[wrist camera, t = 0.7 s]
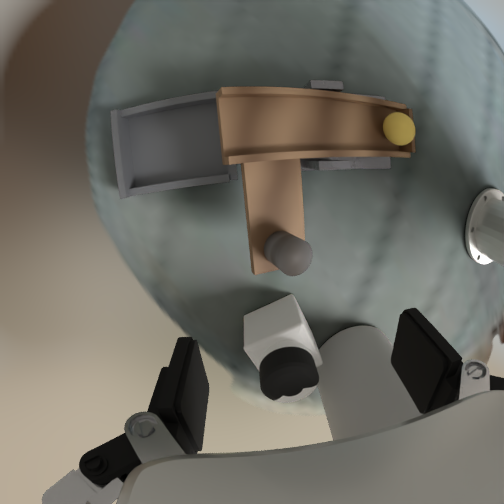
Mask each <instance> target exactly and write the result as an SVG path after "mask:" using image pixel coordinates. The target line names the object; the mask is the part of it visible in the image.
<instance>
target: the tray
mask: <svg viewBox="0 0 504 504" xmlns="http://www.w3.org/2000/svg"><path fill="white" fill-rule="evenodd" d="M218 91H219V90H218ZM218 91H210V92H203V93H197V94H191V95H185V96H180V97H174V98H169V99H164V100H160V101H155V102H151V103H147V104H142V105H138V106H135V107H131V108H127V109H123V110H118V109H115V110H112V111H110V114H111V128H112V140H113V150H114V159H115V167H116V175H117V182H118V189H119V195H120V199H122V198H127V197H130V196H135V195H141V194H146V193H152V192H158V191H165V190H171V189H178V188H185V187H192V186H200V185H207V184H216V183H224V182H230V180H238V175H237V165H236V164H231V165H223V163H222V153H221V144H220V134H219V124H218V113H217V103H216V93H217V92H218Z"/></svg>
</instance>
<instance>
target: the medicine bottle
mask: <svg viewBox="0 0 504 504" xmlns="http://www.w3.org/2000/svg"><path fill="white" fill-rule="evenodd" d="M243 348H244V351H245V352H246V353H247V355H248V356H249V358H250V359H251V360H252V362H253V363H254V365H255V366H256V367H257V369H258V370H259V373H260V387H261V390H262V392H263V394H264V395H265V396H267V397H268V398H270V399H272V400H274V401H277V402H295V401H298V400H301V399H303V398H305V397H307V396H308V395H310V394H311V393H312V392H313V391H314V389H315V388H316V387H317V385H318V383H319V374H318V371H317V368H316V367H318V366H320V365H322V364H323V361H322V358H321V355H320V353H319V350H318V347H317V344H316V342H315V339H314V336H313V333H312V331H311V329H310V327H309V325H308V323H307V321H306V319H305V317H304V315H303V313H302V311H301V309H300V307H299V305H298V303H297V301H296V299H295V297H294V295H293V294H290V295H288V296H286V297H284V298H281V299H279V300H277V301H275V302H273V303H271V304H268V305H266V306H264V307H262V308H260V309H257V310H255V311H253V312H251V313H248V314H246V315H244V317H243Z"/></svg>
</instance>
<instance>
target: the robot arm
mask: <svg viewBox="0 0 504 504" xmlns="http://www.w3.org/2000/svg"><path fill="white" fill-rule="evenodd" d="M465 240H466V247H467V251H468V253H469V255H470V257H471V258H472V259H473V260H474V261H476V262H477V263H479V264H488V263H490V262H492V261H494V262H496V263H498V264H500V265H501V266H503V267H504V194H503V193H502V192H501V191H499V190H497V189H494V188H488V189H485V190H484V191H482V192H481V193H480V194H479V195H478V196H477V197H476V199H475V200H474V202H473V204H472V206H471V208H470V211H469V214H468V218H467V222H466V230H465ZM461 360H462V357H461V356H460V355H459V354H458V353H457V352H456V350H455V349H454V348H453V347H452V346H451V345H450V344H449V343H448V342H447V340H446V339H445V338H444V337H443V336H442V335H441V334H440V333H439V332H438V331H437V329H436V328H435V327H434V326H433V325H432V324H431V323H430V322H429V321H428V320H427V319H426V318H425V317H424V316H423V315H422V314H421V313H420V312H419V311H418V310H417V309H416V308H411V309H406V310H404V311H403V313H402V314H401V315H400V317H399V323H398V328H397V333H396V337H395V342H394V346H393V351H392V355H391V364H392V366H393V368H394V370H395V371H396V373H397V375H398V376H399V378H400V380H401V381H402V383H403V385H404V386H405V388H406V390H407V391H408V393H409V395H410V397H411V398H412V400H413V402H414V403H415V405H416V407H417V409H418V410H419V412H420V413H421V414H423V415H420V416H418V417H415V418H412V419H409V420H406V421H403V422H400V423H397V424H394V425H391V426H388V427H385V428H381V429H378V430H374V431H371V432H367V433H363V434H359V435H355V436H351V437H347V438H343V439H338V440H333V441H328V442H323V443H317V444H312V445H305V446H299V447H292V448H284V449H275V450H265V451H252V452H235V453H208V454H207V453H205V454H197V452H198V451H201V450H202V445H203V436H204V427H205V419H206V412H207V403H208V396H209V383H208V380H207V376H206V373H205V369H204V365H203V361H202V358H201V354H200V350H199V346H198V342H197V340H193V339H192V337H179V338H178V340H177V343H176V346H175V349H174V352H173V355H172V358H171V361H170V364H169V367H163V368H162V369H161V372H160V374H159V377H158V381H157V383H156V386H155V390H154V392H153V396H152V398H151V402H150V405H149V408H148V411H147V412H139V413H136V414H134V415H132V416H131V417H130V418H129V419H128V420H127V421H126V423H125V427H124V430H125V433H124V434H122V435H120V436H118V437H116V438H114V439H112V440H110V441H109V442H106V443H104V444H102V445H101V446H99V447H96V448H94V449H92V450H90V451H88V452H87V453H85V454H84V455H83V456H82V457H81V459H80V462H79V469H78V470H76V471H75V470H72V471H70V472H69V473H68V474H67V475H66V476H64V477H63V478H62V479H61V480H59V481H58V482H57V483H56V484H54V485H53V486H52V487H50V488H49V489H48V490H47V491H46V492H45V493H44V494H43V497H42V504H112V503H113V502H114V501H115V500H116V499H118V500H117V503H116V504H504V378H501V377H496V376H492V375H490V374H489V368H488V367H487V365H486V364H485V363H484V362H482V361H480V360H476V359H471V360H467V361H466V362H465V363H464V364H463V362H462V361H461Z"/></svg>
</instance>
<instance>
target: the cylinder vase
mask: <svg viewBox="0 0 504 504" xmlns="http://www.w3.org/2000/svg"><path fill="white" fill-rule="evenodd" d="M392 351H393V345H392V343H391V342H390V341H389V339H388V338H387V336H386V335H385V334H384V333H383V332H382V331H381V330H379V329H378V328H375V327H372V326H355V327H351V328H347V329H345V330H343V331H340V332H339V333H337V334H335V335H334V336H332V337H331V338H330V339H328V340H327V341H326V342H325V343H324V344H323V345H322V347H321V348H320V349H319V353H320V355H321V358H322V361H323V364H322V365H320V366H318V367H316V368H317V371H318V374H319V383H318V389H319V392H320V396H321V399H322V402H323V406H324V409H325V413H326V416H327V420H328V423H329V427H330V430H331V434H332V437H333V440H338V439H343V438H347V437H351V436H355V435H359V434H363V433H367V432H371V431H374V430H378V429H381V428H385V427H388V426H391V425H394V424H397V423H400V422H403V421H406V420H409V419H412V418H415V417H418V416H420V415H423V414H421V413H420V412H419V410H418V409H417V407H416V405H415V403H414V402H413V400H412V398H411V397H410V395H409V393H408V391H407V390H406V388H405V386H404V385H403V383H402V381H401V380H400V378H399V376H398V375H397V373H396V371H395V370H394V368H393V366H392V364H391V355H392Z"/></svg>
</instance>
